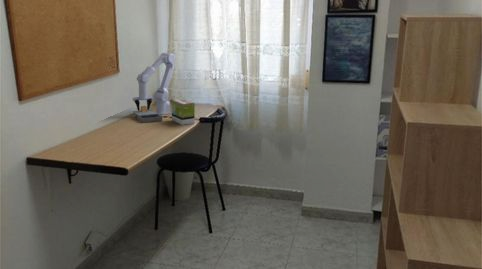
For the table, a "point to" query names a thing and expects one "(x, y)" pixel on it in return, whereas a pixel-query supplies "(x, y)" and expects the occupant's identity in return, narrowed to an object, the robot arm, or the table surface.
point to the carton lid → (145, 112)
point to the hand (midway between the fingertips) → (143, 110)
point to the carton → (149, 118)
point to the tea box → (183, 111)
